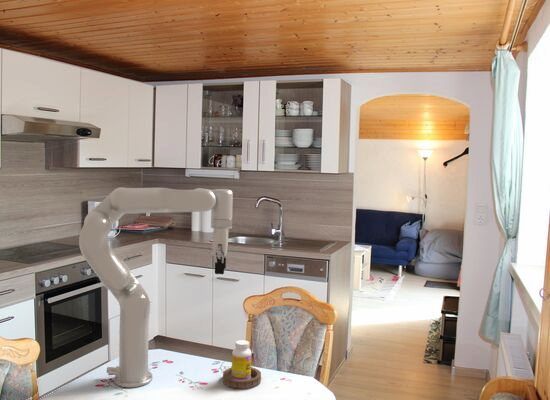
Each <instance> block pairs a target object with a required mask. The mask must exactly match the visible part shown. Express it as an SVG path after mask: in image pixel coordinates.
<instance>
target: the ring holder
mask: <svg viewBox="0 0 550 400" xmlns="http://www.w3.org/2000/svg"><path fill="white" fill-rule="evenodd" d="M222 382H223V384H224V385H225V386H226V387H228V388H230V389H235V390H250V389H254V388H256V387H258V386H259V385H260V384H261V382H262V373H261V371H260V370H259V369H258V368H256V367H253V366H251V378H250V379H249V380H236V379H232V366H231V367H229V368H226V369H225V370H224V371H223V373H222Z"/></svg>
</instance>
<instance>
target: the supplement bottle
mask: <svg viewBox="0 0 550 400" xmlns="http://www.w3.org/2000/svg"><path fill="white" fill-rule="evenodd" d="M249 347H250V342H249V341H248V340H245V339H243V340H242V339H241V340H236V341H235V348H233V350H232V353H231V354H232V355H231V360H232V361H231V367H232V379H236V380H249V379H250V378H251V367H252V350H251V349H250V348H249Z"/></svg>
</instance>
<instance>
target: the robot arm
mask: <svg viewBox="0 0 550 400" xmlns="http://www.w3.org/2000/svg"><path fill="white" fill-rule="evenodd" d="M233 194H234V193H233V191H232V190H231V189H227V188H216V189H208V188H202V187H197V188H194V189H173V188H168V187H122V186H121V187H116V188H115V189H114V190H113V191H112V192H110V193H109V194H108V195H107V196H106V197H105V198H104V199H103V200H102V201H101V202H99V204H98V205H96V206H95V207H94V208H93V209H92V210H90V212H89V213H87V214H86V216H85V217H84V221H83V226H82V228H81V230H80V233H79V236H78V246H79V250H80V253H81V254H82V256H83V258H84V260H85V261H86V262H87V263H88V266H90V268H91V269H92V271H93V272H94V273H95V275H96V276H97V277H98V278H99V281H100V282H101V284H102V285H103V287H104V288H105V289H106V290H108V291H110V293H111V294H112V295H113V297H114V298H115V299H116V301H117V302H118V303H119V330H118V331H119V332H118V333H119V338H118V339H119V340H118V343H119V344H118V346H119V348H118V349H119V351H118V355H119V357H118V366H117V365H116V367H114V366H107V367H106V374H107V376H114V377H113V380H114V381H113V382H114V384H115V385H117V386H118V387H121V388H122V387H123V388H138V387H142V386H146V385H147V384H149V383H151V382H152V380H153V374H152V372H151V371H149V338H150V337H149V335H150V334H149V331H150V330H149V329H150V327H149V324H150V313H151V311H150V310H151V302H150V298H149V296H148V294H147V292H146V290H145V289H144V287H143V286H142V284H141V283H140V282H139V280H138V279H137V278H136V276H135V275H134V274H133V272H132V271H131V270H130V268H129V266H128V265H127V264H126V263H125V262H124V261H123V260H121V259H119V257H118V256H117V255H116V254H115V251H114V250H113V248H111V246H110V245H109V243H108V236H109V235H110V233H111V230H112V227H113V226H114V225H115V224H116V222H117V221H119V220H120V218H122V217H123V216H124V215H125V214H126V215H128V214H129V215H130V214H131V215H132V214H147V213H148V214H155V213H156V214H157V213H164V214H165V213H167V214H168V213H200V212H208V211H210V213H211V214H210V229H213V231H212V249H211V250H212V252H211V253H212V254H211V255H212V256H213V257H215V262H214V274H215V275H224V274H225V269H226V267H227V258H226V256H227V252H228V247H229V233H230V232H229V230H230V229H233V202H234V195H233Z"/></svg>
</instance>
